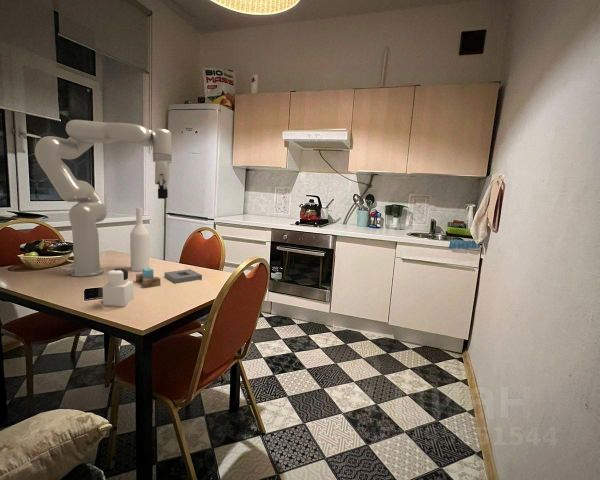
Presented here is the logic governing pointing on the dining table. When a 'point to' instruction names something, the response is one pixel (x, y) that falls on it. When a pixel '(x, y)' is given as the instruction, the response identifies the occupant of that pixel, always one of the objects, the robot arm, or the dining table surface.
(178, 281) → the port block
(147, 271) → the plug
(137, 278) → the brown notched block
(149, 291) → the dining table surface
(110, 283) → the medicine bottle
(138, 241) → the bottle
